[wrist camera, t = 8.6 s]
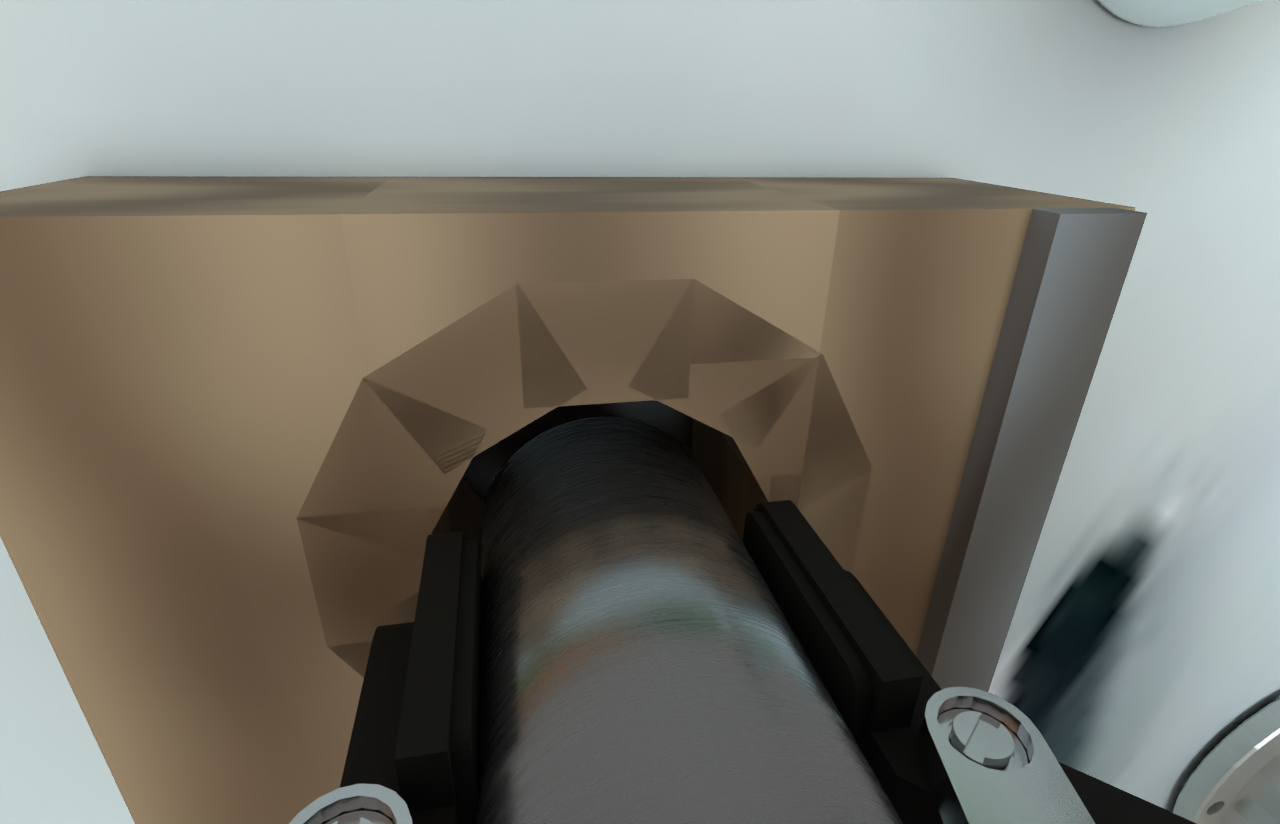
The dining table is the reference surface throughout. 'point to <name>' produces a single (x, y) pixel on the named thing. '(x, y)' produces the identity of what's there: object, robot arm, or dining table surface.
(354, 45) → the dining table surface
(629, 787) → the grey cylinder
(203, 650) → the block
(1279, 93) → the dining table surface
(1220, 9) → the beer glass
